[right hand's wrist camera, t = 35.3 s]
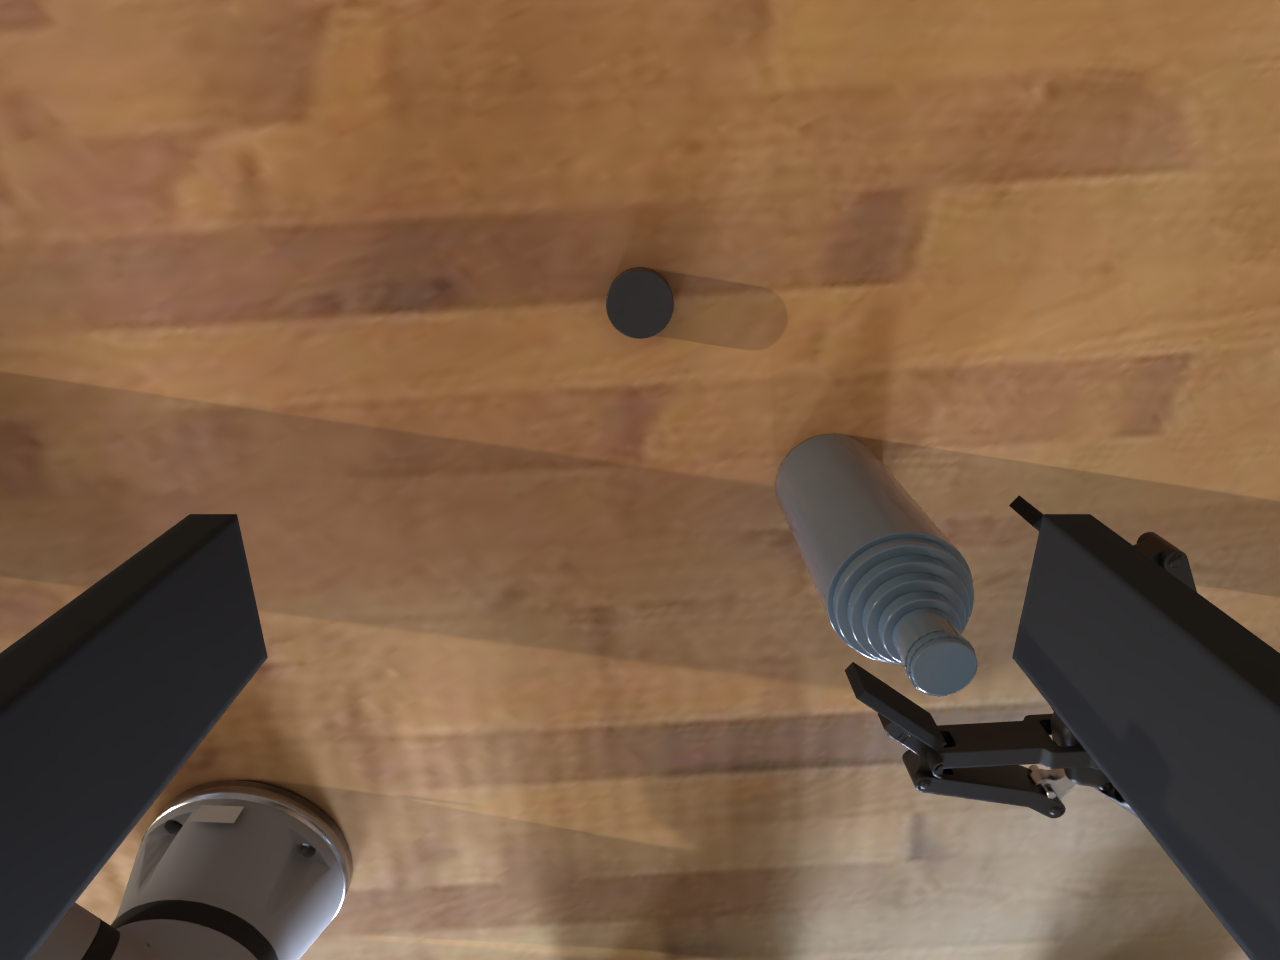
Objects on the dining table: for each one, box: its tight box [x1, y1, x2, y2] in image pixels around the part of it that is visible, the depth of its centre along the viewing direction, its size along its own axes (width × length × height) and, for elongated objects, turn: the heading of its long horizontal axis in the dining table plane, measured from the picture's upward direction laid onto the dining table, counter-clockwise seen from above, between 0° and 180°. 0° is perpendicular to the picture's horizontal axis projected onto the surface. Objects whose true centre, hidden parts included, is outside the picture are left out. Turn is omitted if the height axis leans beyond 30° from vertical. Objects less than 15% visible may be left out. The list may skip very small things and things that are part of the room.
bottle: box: [776, 434, 977, 697], centre depth 38 cm, size 7×7×19 cm
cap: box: [606, 267, 673, 339], centre depth 42 cm, size 4×4×2 cm
